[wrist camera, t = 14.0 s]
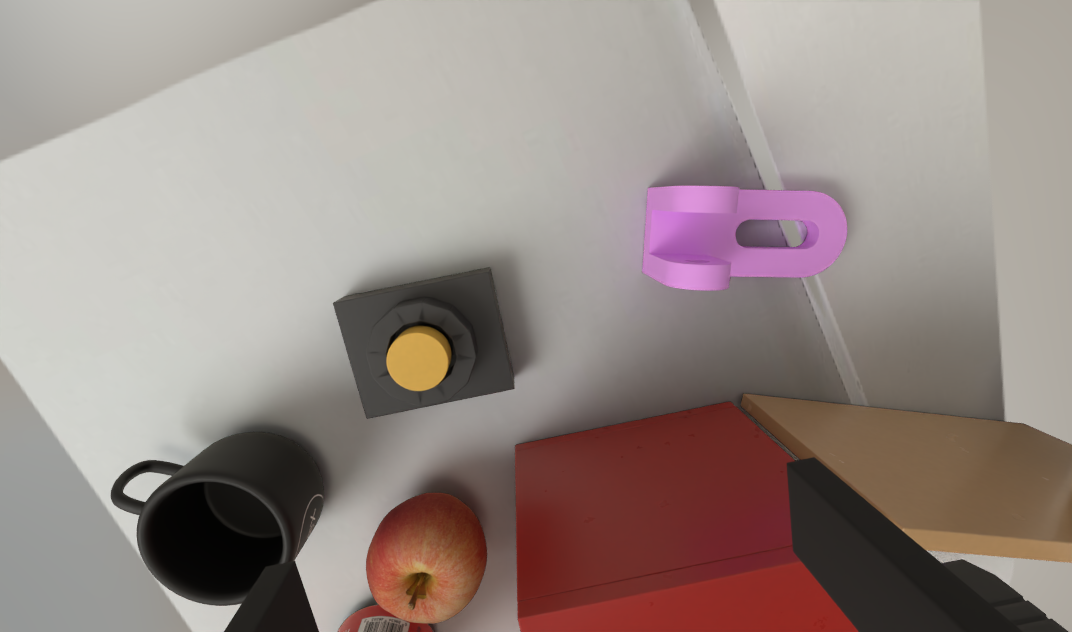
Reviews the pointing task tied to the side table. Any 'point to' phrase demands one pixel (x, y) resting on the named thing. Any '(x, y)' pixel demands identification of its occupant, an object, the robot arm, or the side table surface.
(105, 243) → the side table surface
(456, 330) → the box
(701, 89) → the side table surface
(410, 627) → the soda can
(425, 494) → the apple
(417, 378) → the alarm button
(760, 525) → the cabinet
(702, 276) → the bracket
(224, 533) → the mug
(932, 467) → the cabinet door
